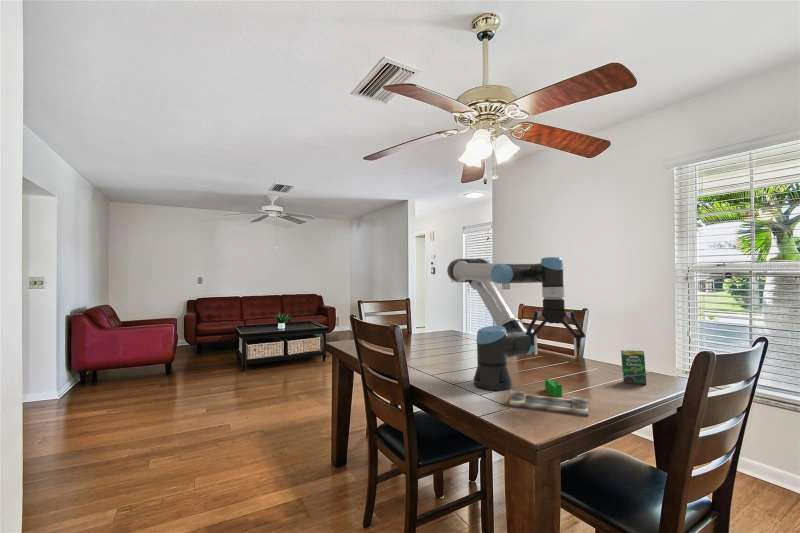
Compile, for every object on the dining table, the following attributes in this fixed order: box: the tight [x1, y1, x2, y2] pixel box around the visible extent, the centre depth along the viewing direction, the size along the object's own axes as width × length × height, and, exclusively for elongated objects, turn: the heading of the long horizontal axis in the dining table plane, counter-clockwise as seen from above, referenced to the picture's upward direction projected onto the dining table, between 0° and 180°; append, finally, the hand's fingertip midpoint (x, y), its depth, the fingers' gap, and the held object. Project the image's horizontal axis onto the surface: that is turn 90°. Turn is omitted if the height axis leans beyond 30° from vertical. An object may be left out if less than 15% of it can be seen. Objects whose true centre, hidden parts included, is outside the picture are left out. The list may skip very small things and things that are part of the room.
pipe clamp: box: [544, 378, 563, 398], centre depth 136 cm, size 11×4×5 cm, turn 173°
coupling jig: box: [508, 390, 590, 417], centre depth 124 cm, size 25×10×4 cm, turn 65°
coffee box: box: [620, 349, 647, 386], centre depth 148 cm, size 8×3×13 cm, turn 63°
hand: (555, 355), depth 136 cm, fingers open, 13 cm apart
